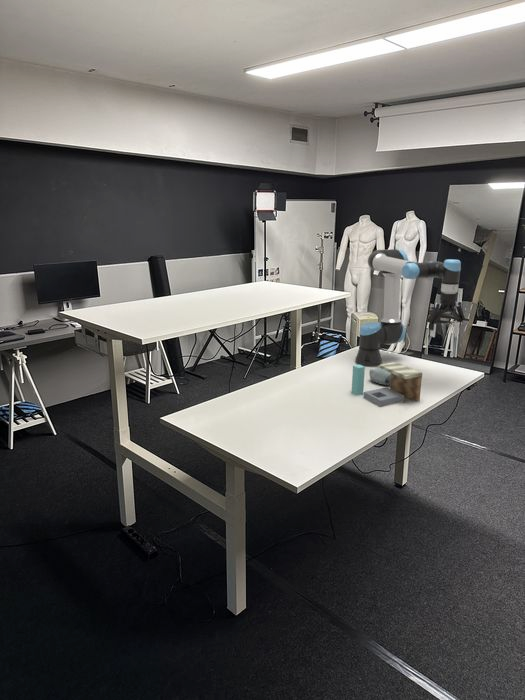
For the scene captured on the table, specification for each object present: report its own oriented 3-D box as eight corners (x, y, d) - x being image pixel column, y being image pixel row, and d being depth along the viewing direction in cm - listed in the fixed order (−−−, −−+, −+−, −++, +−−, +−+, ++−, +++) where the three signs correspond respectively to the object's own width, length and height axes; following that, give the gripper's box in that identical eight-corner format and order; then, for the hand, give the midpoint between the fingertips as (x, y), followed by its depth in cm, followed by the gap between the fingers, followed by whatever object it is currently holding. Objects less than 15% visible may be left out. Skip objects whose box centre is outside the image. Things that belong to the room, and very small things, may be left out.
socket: (363, 397, 225) (363, 392, 224) (386, 392, 231) (386, 387, 230) (380, 406, 215) (380, 400, 214) (403, 401, 221) (404, 395, 220)
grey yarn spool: (401, 378, 241) (393, 363, 238) (390, 390, 237) (382, 374, 234) (381, 377, 253) (373, 362, 249) (371, 388, 248) (362, 373, 245)
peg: (351, 392, 231) (352, 365, 227) (358, 391, 233) (359, 364, 229) (356, 395, 228) (358, 368, 224) (363, 394, 230) (364, 366, 226)
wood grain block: (377, 391, 232) (379, 364, 228) (393, 388, 236) (395, 361, 232) (403, 404, 217) (405, 376, 213) (419, 400, 221) (422, 372, 217)
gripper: (431, 295, 218) (427, 339, 225) (476, 292, 226) (470, 335, 232) (421, 292, 225) (417, 335, 231) (465, 289, 232) (460, 331, 239)
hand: (444, 335), depth 232 cm, fingers open, 13 cm apart
